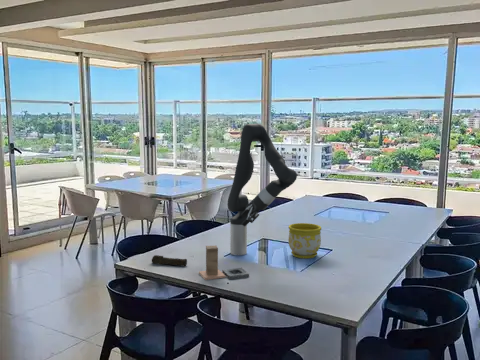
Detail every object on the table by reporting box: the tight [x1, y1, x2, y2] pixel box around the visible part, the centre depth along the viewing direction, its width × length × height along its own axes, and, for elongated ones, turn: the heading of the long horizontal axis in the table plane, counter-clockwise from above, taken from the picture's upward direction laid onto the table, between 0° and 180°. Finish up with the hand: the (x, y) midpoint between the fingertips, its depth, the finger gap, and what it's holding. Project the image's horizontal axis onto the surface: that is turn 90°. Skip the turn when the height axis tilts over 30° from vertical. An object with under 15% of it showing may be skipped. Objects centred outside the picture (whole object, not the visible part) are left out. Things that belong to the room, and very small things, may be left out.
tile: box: [198, 268, 226, 281], centre depth 218 cm, size 10×10×1 cm
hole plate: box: [221, 267, 250, 280], centre depth 219 cm, size 10×10×2 cm
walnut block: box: [205, 245, 219, 275], centre depth 217 cm, size 5×5×13 cm
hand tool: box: [151, 254, 188, 268], centre depth 234 cm, size 19×4×5 cm, turn 74°
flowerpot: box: [287, 222, 322, 259], centre depth 251 cm, size 18×18×16 cm
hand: (242, 220), depth 228 cm, fingers open, 8 cm apart
